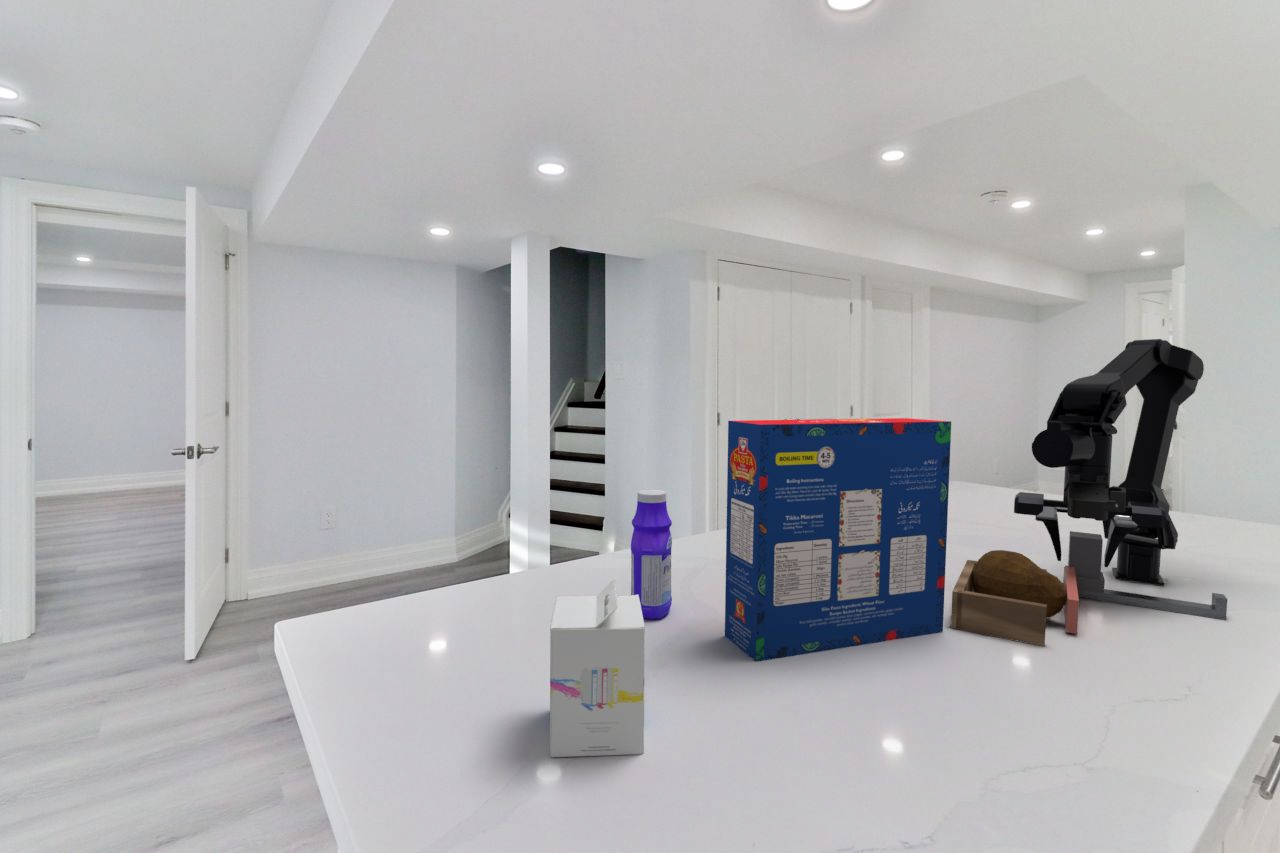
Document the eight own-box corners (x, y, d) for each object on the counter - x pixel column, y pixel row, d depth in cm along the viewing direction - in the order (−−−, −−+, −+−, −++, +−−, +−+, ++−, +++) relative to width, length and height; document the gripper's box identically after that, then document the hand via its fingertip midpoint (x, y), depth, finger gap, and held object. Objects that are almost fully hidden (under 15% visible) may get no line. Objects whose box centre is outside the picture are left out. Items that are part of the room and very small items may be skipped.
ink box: (554, 708, 63) (553, 577, 62) (637, 705, 63) (638, 575, 62) (548, 760, 54) (548, 608, 53) (645, 755, 55) (646, 606, 54)
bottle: (666, 623, 85) (668, 496, 84) (626, 620, 86) (626, 494, 85) (674, 605, 92) (675, 487, 91) (636, 602, 93) (637, 486, 92)
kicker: (1062, 586, 101) (1065, 530, 100) (1101, 592, 98) (1104, 534, 98) (1065, 631, 82) (1069, 563, 82) (1113, 640, 79) (1117, 569, 79)
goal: (966, 590, 99) (967, 559, 99) (1045, 603, 94) (1047, 571, 93) (950, 627, 84) (952, 591, 84) (1044, 646, 78) (1046, 607, 78)
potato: (1018, 630, 83) (1021, 566, 83) (954, 600, 95) (957, 543, 94) (1070, 626, 85) (1074, 562, 84) (1002, 596, 97) (1005, 541, 96)
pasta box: (899, 611, 90) (906, 418, 88) (942, 632, 83) (951, 421, 81) (724, 636, 81) (728, 420, 79) (755, 662, 73) (760, 424, 72)
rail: (1037, 586, 102) (1037, 568, 102) (1221, 614, 90) (1223, 594, 89) (1036, 590, 100) (1037, 571, 100) (1225, 620, 88) (1227, 599, 87)
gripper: (1014, 465, 95) (1010, 566, 96) (1175, 475, 84) (1168, 588, 85) (1017, 458, 104) (1013, 550, 105) (1162, 466, 94) (1156, 568, 95)
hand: (1082, 563), depth 97 cm, fingers open, 6 cm apart
